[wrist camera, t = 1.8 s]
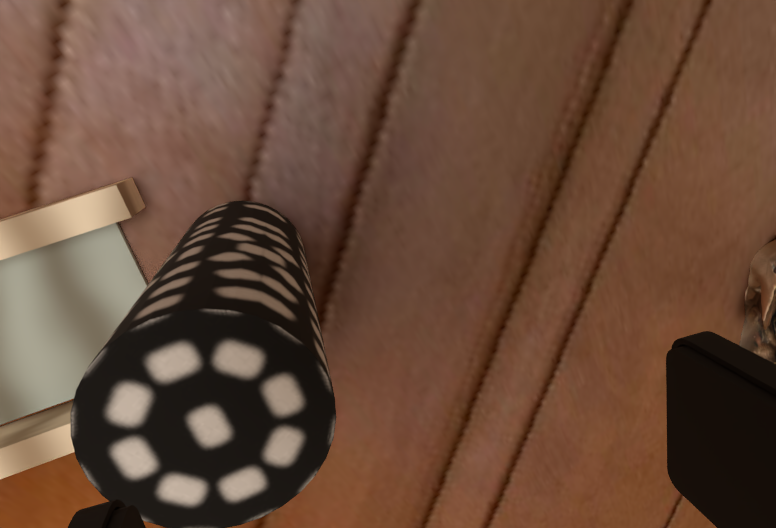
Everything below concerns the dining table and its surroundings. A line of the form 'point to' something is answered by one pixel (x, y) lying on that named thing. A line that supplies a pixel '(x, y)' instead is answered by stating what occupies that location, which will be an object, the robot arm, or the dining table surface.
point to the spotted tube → (212, 380)
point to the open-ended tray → (59, 312)
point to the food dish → (761, 305)
